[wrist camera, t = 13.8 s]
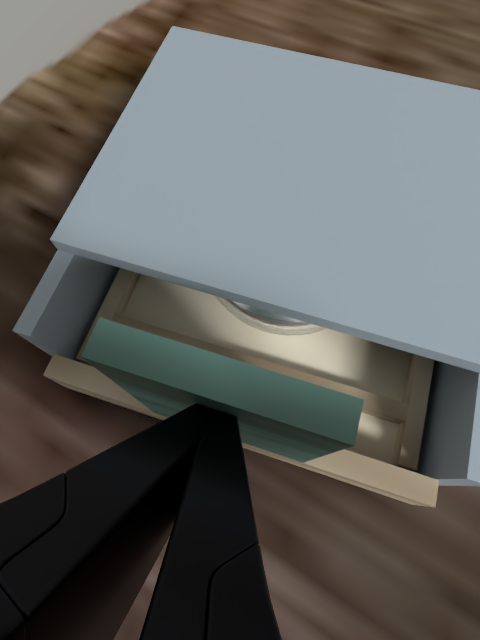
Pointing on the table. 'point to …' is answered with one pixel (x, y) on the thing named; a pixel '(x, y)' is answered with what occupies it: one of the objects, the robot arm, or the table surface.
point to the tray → (261, 383)
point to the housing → (291, 212)
